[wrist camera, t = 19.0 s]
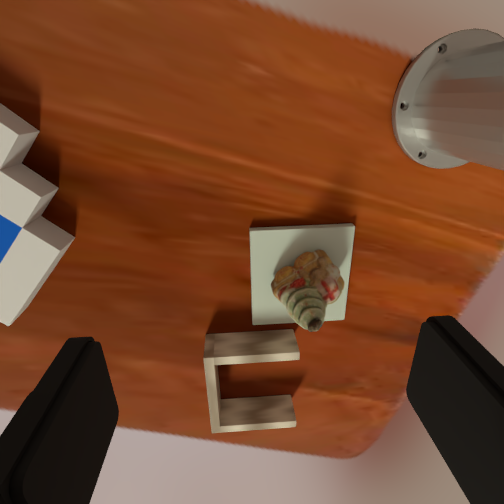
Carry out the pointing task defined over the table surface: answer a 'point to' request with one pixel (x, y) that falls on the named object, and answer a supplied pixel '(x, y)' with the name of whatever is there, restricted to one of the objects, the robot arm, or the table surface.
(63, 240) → the pixel art tile
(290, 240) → the tile mat
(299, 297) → the ornament
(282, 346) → the shelf bay
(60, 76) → the table surface
